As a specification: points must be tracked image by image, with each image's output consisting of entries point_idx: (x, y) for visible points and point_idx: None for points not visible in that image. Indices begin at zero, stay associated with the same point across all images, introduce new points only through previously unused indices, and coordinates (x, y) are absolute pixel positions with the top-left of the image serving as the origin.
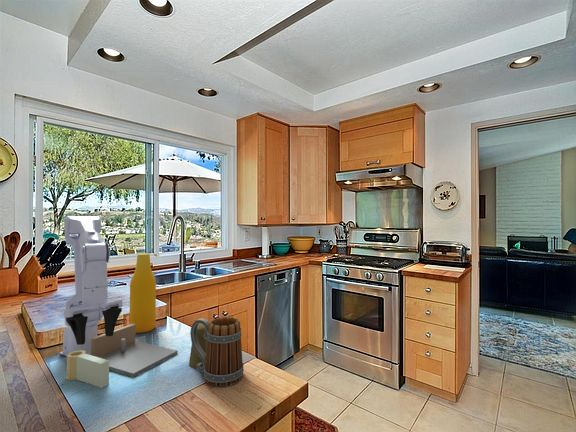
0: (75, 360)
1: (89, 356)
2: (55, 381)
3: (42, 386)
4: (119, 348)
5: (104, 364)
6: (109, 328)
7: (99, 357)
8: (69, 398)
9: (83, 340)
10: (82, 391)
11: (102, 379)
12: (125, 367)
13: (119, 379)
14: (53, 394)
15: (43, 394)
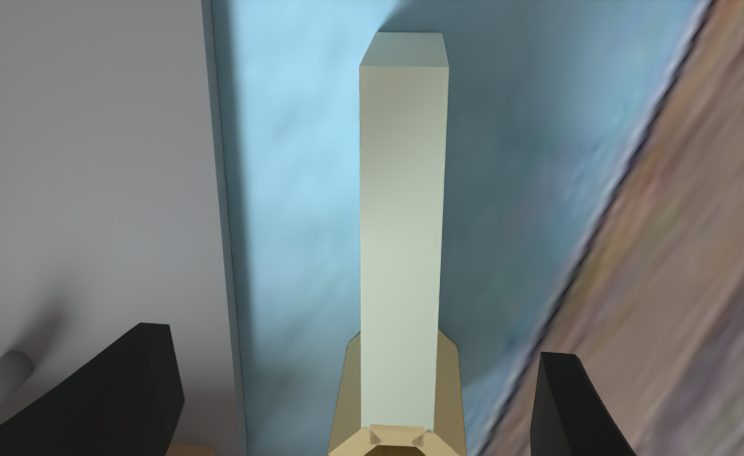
0: (440, 414)
1: (385, 333)
2: (506, 414)
3: None
4: None
5: (416, 63)
6: (123, 424)
7: (174, 438)
8: (635, 117)
9: (571, 380)
10: (532, 123)
11: (435, 41)
12: (163, 109)
13: (285, 20)
14: (631, 270)
15: (651, 327)
